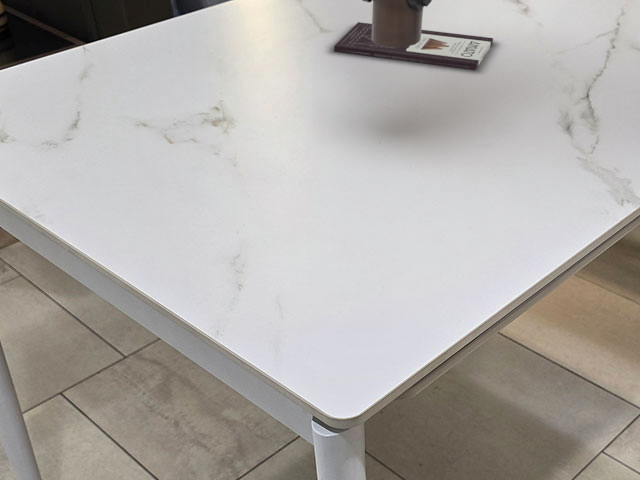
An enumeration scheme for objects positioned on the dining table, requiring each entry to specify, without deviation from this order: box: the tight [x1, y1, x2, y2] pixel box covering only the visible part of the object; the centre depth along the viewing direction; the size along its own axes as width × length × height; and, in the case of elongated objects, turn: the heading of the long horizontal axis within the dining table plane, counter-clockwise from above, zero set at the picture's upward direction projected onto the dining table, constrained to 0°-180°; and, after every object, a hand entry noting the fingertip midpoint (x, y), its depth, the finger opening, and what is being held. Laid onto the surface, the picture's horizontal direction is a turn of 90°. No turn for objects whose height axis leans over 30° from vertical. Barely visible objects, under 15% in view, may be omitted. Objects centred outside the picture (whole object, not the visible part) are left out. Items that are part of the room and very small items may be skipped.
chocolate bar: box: [333, 21, 494, 71], centre depth 108 cm, size 9×1×18 cm
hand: (389, 1), depth 80 cm, fingers closed on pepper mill, 5 cm apart
